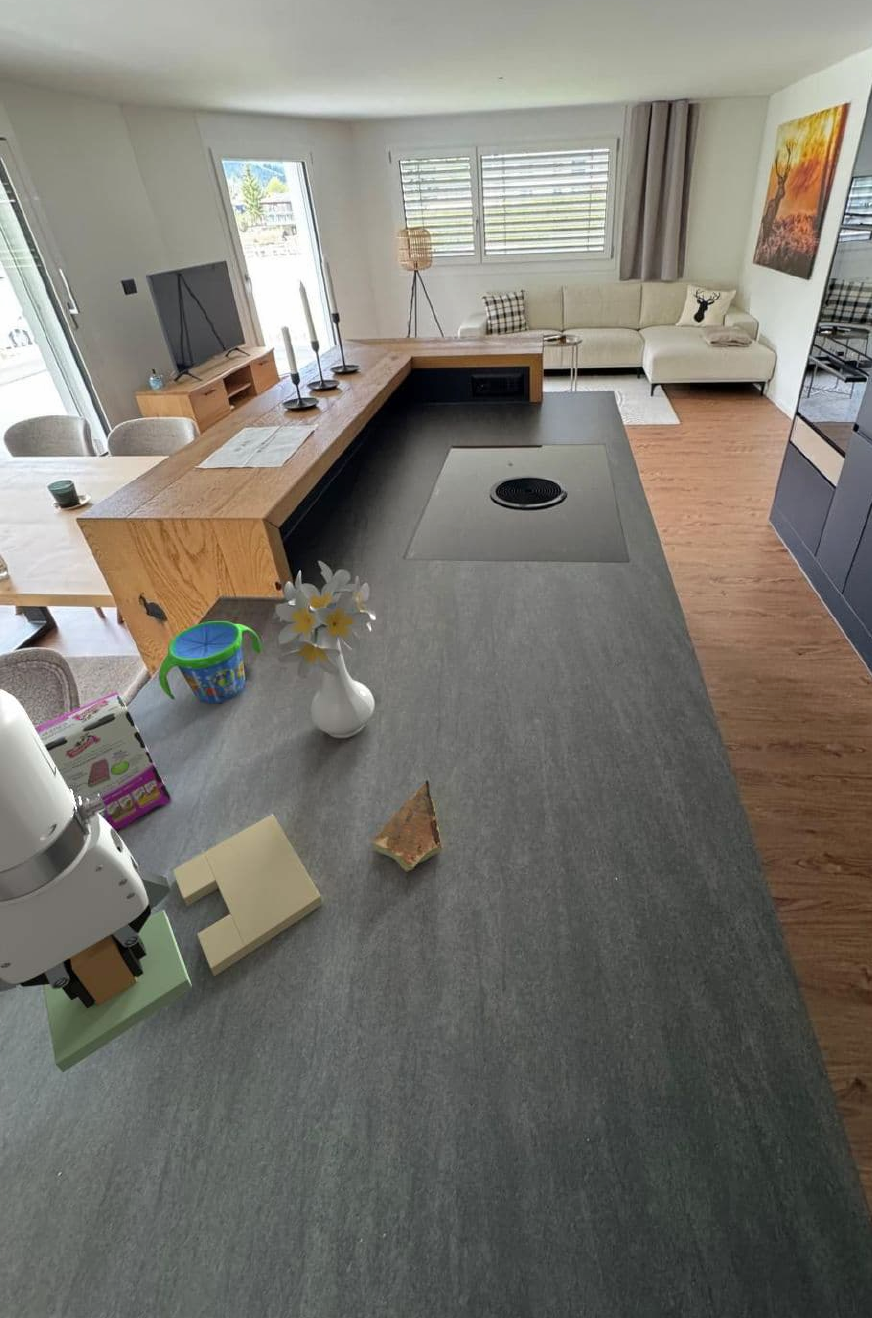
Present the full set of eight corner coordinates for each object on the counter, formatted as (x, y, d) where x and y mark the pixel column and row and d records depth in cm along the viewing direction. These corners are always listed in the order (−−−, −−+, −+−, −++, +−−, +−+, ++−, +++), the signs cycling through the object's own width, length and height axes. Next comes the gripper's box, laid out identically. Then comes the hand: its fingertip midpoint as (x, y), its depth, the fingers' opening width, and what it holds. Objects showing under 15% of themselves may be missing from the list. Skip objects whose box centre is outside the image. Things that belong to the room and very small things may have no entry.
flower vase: (304, 784, 84) (260, 634, 70) (304, 694, 99) (268, 557, 86) (400, 762, 86) (376, 614, 73) (385, 678, 101) (363, 543, 88)
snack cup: (254, 654, 108) (239, 605, 103) (281, 682, 102) (267, 632, 96) (161, 696, 100) (140, 646, 94) (184, 731, 93) (162, 679, 88)
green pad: (192, 987, 55) (167, 941, 51) (62, 1073, 49) (23, 1029, 45) (159, 892, 62) (134, 845, 58) (43, 957, 57) (8, 911, 53)
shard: (428, 787, 82) (427, 777, 81) (475, 813, 78) (474, 804, 78) (371, 848, 75) (369, 838, 74) (419, 880, 71) (418, 871, 70)
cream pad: (214, 976, 63) (210, 968, 62) (176, 877, 73) (172, 869, 72) (323, 903, 69) (320, 895, 68) (275, 821, 79) (272, 813, 78)
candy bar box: (161, 779, 85) (119, 688, 77) (173, 801, 82) (130, 708, 73) (70, 827, 79) (12, 734, 70) (78, 853, 76) (20, 759, 67)
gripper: (136, 756, 51) (197, 888, 60) (-124, 873, 42) (-5, 1004, 52) (160, 816, 46) (222, 950, 55) (-130, 963, 37) (4, 1090, 47)
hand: (112, 975), depth 54 cm, fingers closed on green pad, 3 cm apart
